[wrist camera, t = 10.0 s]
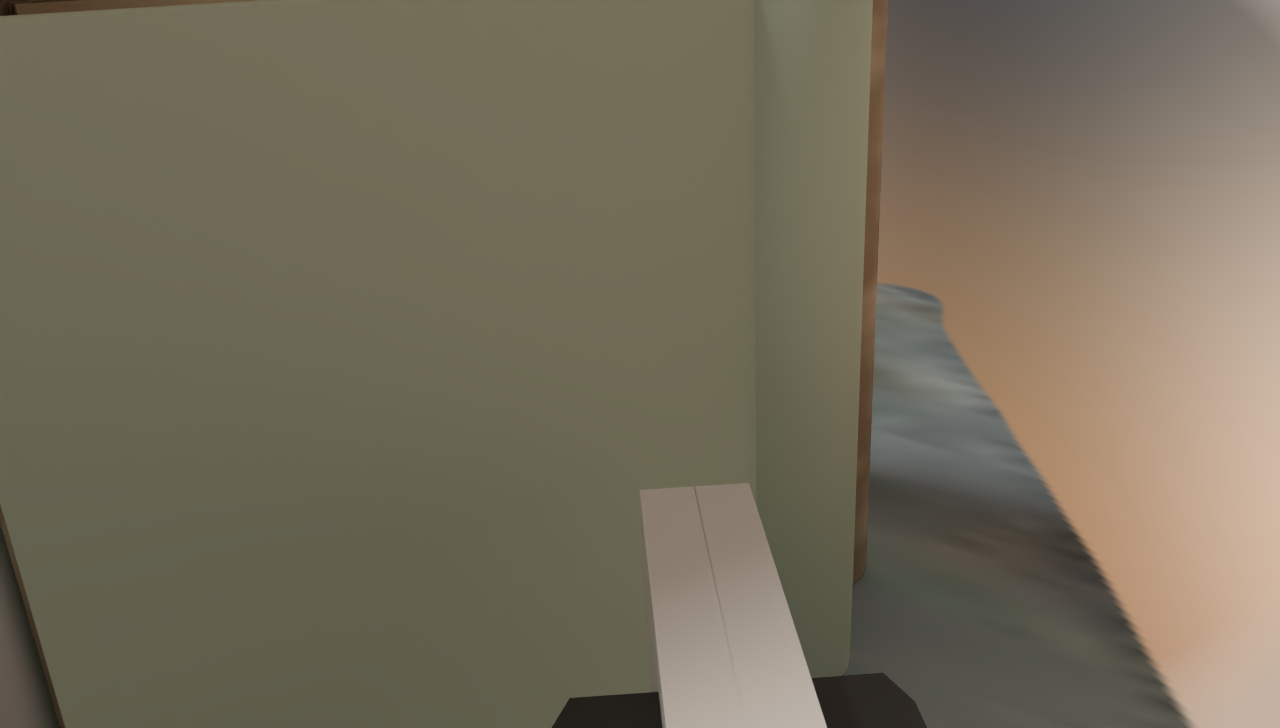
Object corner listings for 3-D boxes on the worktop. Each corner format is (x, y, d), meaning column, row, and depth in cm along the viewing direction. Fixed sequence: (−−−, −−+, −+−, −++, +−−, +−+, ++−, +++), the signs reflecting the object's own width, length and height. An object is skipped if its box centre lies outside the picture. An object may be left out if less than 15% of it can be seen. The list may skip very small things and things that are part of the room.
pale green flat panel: (-39, 1135, 15) (-498, -7, 9) (-44, 974, 17) (-413, -9, 12) (878, 680, 23) (913, -68, 18) (789, 614, 26) (796, -62, 20)
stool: (41, 942, 18) (-354, -255, 12) (-7, 580, 30) (-226, -141, 23) (890, 568, 28) (927, -201, 22) (613, 402, 39) (583, -139, 33)
